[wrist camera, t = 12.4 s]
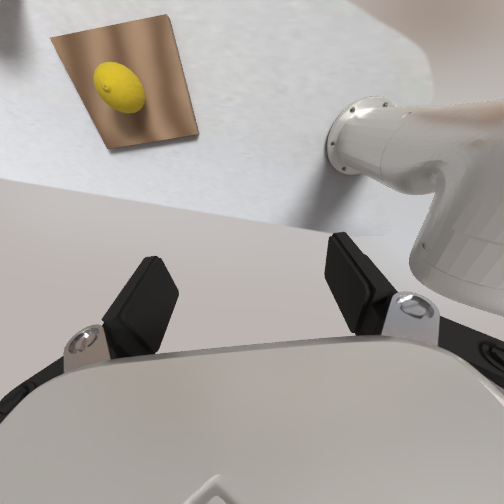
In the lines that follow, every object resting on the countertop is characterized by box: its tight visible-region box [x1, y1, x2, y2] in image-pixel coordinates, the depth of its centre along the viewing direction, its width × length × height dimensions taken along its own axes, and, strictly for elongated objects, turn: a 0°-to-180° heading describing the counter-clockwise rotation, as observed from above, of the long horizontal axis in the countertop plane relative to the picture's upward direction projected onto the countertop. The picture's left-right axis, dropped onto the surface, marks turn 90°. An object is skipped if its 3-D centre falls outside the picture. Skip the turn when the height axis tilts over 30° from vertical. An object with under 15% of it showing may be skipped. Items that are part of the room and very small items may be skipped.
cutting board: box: [50, 14, 199, 149], centre depth 31 cm, size 17×14×2 cm
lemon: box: [93, 62, 145, 113], centre depth 27 cm, size 6×6×8 cm
